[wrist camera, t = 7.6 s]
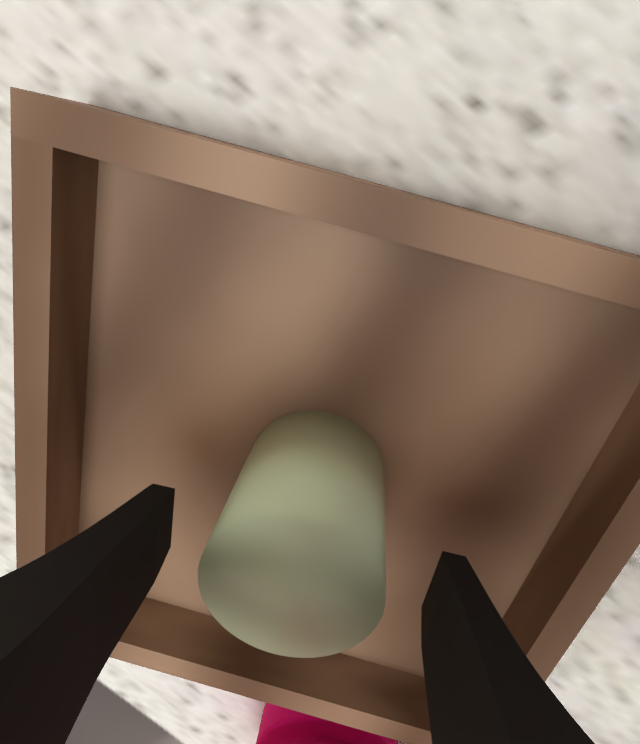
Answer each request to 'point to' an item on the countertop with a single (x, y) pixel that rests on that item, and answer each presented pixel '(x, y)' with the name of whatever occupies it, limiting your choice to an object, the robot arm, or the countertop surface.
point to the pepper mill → (309, 730)
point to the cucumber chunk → (301, 540)
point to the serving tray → (315, 387)
